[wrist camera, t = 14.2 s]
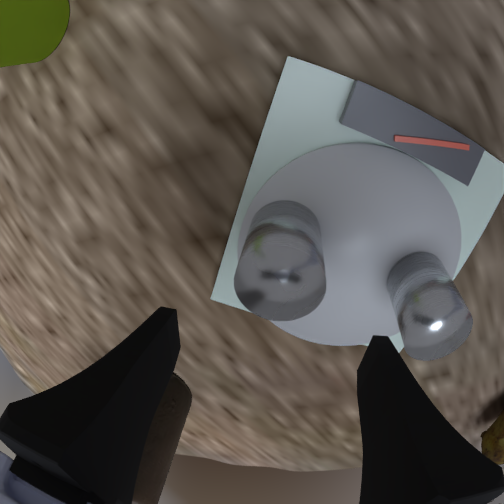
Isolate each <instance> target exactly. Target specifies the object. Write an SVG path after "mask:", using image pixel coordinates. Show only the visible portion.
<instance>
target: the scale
mask: <svg viewBox="0 0 504 504" xmlns="http://www.w3.org/2000/svg"><path fill="white" fill-rule="evenodd" d="M503 194H504V163H502V162H501V161H499V160H498V159H497V158H495V157H494V156H492V155H491V154H489V153H488V152H487V151H485V149H484V148H483V147H481V146H480V145H478V144H477V143H475V142H473V141H472V140H470V139H469V138H467V137H466V136H464V135H463V134H461V133H459V132H458V131H456V130H454V129H453V128H451V127H449V126H448V125H446V124H444V123H443V122H441V121H439V120H437V119H436V118H434V117H432V116H430V115H428V114H427V113H425V112H423V111H421V110H419V109H417V108H415V107H414V106H412V105H410V104H408V103H406V102H404V101H402V100H400V99H398V98H396V97H394V96H392V95H390V94H387V93H385V92H383V91H381V90H379V89H377V88H375V87H372V86H370V85H368V84H365V83H363V82H361V81H359V80H353V79H351V78H348V77H346V76H343V75H341V74H338V73H336V72H333V71H330V70H328V69H325V68H322V67H320V66H317V65H314V64H311V63H308V62H305V61H302V60H299V59H296V58H293V57H290V56H288V57H287V60H286V63H285V66H284V69H283V72H282V75H281V78H280V80H279V83H278V86H277V89H276V92H275V95H274V98H273V101H272V104H271V107H270V110H269V113H268V116H267V119H266V122H265V125H264V128H263V131H262V134H261V138H260V141H259V144H258V147H257V150H256V153H255V156H254V159H253V162H252V165H251V168H250V172H249V175H248V178H247V181H246V184H245V187H244V191H243V194H242V197H241V200H240V203H239V207H238V210H237V213H236V216H235V219H234V223H233V226H232V229H231V232H230V236H229V239H228V242H227V246H226V249H225V252H224V256H223V259H222V262H221V266H220V269H219V272H218V276H217V279H216V282H215V286H214V289H213V293H212V296H211V299H212V300H215V301H218V302H221V303H224V304H227V305H230V306H233V307H236V308H239V309H242V310H245V311H248V312H251V311H249V310H248V309H247V308H246V307H244V305H243V304H242V303H241V302H240V300H239V299H238V297H237V295H236V292H235V289H234V275H235V272H236V268H237V265H238V262H239V259H240V256H241V252H242V249H243V246H244V243H245V240H246V237H247V233H248V230H249V227H250V224H251V221H252V219H253V217H254V215H255V214H256V212H257V211H258V210H259V209H260V208H262V207H263V206H265V205H266V204H268V203H271V202H274V201H279V200H290V201H295V202H298V203H300V204H303V205H304V206H306V207H307V208H309V209H310V210H311V211H312V212H313V213H314V214H315V216H316V217H317V219H318V221H319V224H320V229H321V237H322V245H323V254H324V264H325V273H326V292H325V296H324V298H323V300H322V302H321V303H320V304H319V306H318V307H317V308H316V309H315V310H314V311H312V312H311V313H310V314H308V315H306V316H304V317H302V318H299V319H296V320H291V321H273V320H270V321H271V322H272V323H274V324H275V325H276V326H278V327H279V328H281V329H282V330H284V331H286V332H287V333H290V334H292V335H294V336H296V337H298V338H301V339H304V340H307V341H310V342H315V343H319V344H325V345H333V346H350V345H361V344H362V345H365V346H368V345H369V343H370V341H371V338H372V336H373V335H380V336H388V337H389V338H390V340H391V341H392V343H393V345H394V346H395V348H396V349H397V351H398V353H399V352H400V351H401V350H402V349H403V347H404V344H403V340H402V337H401V333H400V330H399V326H398V323H397V319H396V316H395V313H394V309H393V306H392V303H391V300H390V297H389V293H388V290H387V286H386V284H387V277H388V274H389V272H390V270H391V269H392V267H393V266H394V265H395V264H396V263H397V262H398V261H399V260H400V259H401V258H403V257H405V256H406V255H409V254H411V253H415V252H428V253H432V254H434V255H435V256H437V257H438V258H439V259H440V260H441V262H442V264H443V265H444V267H445V269H446V270H447V272H448V274H449V275H450V277H451V279H452V281H453V280H454V278H455V277H456V275H457V274H458V272H459V271H460V269H461V268H462V266H463V265H464V263H465V261H466V260H467V258H468V257H469V255H470V253H471V252H472V250H473V248H474V247H475V245H476V243H477V242H478V240H479V238H480V237H481V235H482V233H483V231H484V230H485V228H486V226H487V224H488V222H489V221H490V219H491V217H492V215H493V213H494V211H495V209H496V207H497V205H498V203H499V202H500V200H501V198H502V196H503Z"/></svg>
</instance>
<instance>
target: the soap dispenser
mask: <svg viewBox="0 0 504 504" xmlns="http://www.w3.org/2000/svg"><path fill="white" fill-rule="evenodd" d="M69 12H70V9H69V2H68V0H0V67H5V66H12V65H19V64H26V63H34V62H38V61H41V60H43V59H45V58H46V57H47V56H49V55H50V54H51V53H52V52H53V51H54V50H55V49H56V47H57V46H58V44H59V43H60V41H61V40H62V38H63V36H64V33H65V31H66V28H67V25H68V21H69Z"/></svg>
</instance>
